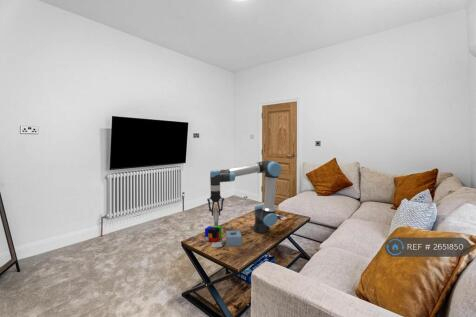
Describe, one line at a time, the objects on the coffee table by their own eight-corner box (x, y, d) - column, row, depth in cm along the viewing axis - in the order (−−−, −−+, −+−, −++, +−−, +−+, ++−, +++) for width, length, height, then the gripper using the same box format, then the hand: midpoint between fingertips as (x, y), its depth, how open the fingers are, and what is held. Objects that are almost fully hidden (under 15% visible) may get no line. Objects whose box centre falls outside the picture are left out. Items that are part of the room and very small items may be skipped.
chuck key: (218, 223, 178) (217, 204, 176) (218, 227, 170) (217, 207, 168) (214, 223, 177) (214, 204, 176) (214, 227, 170) (213, 207, 168)
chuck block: (240, 238, 185) (240, 230, 184) (241, 245, 173) (241, 236, 173) (221, 239, 184) (221, 231, 183) (221, 246, 172) (221, 237, 171)
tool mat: (221, 242, 179) (221, 241, 179) (222, 247, 171) (221, 246, 171) (211, 242, 179) (211, 242, 179) (211, 247, 171) (211, 247, 171)
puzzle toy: (205, 240, 182) (204, 228, 182) (211, 236, 191) (211, 224, 191) (215, 242, 178) (215, 230, 178) (221, 237, 187) (221, 226, 187)
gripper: (225, 188, 176) (226, 217, 178) (205, 189, 174) (206, 218, 176) (225, 190, 168) (226, 220, 170) (204, 191, 167) (205, 221, 169)
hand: (216, 219), depth 173 cm, fingers closed on chuck key, 3 cm apart
